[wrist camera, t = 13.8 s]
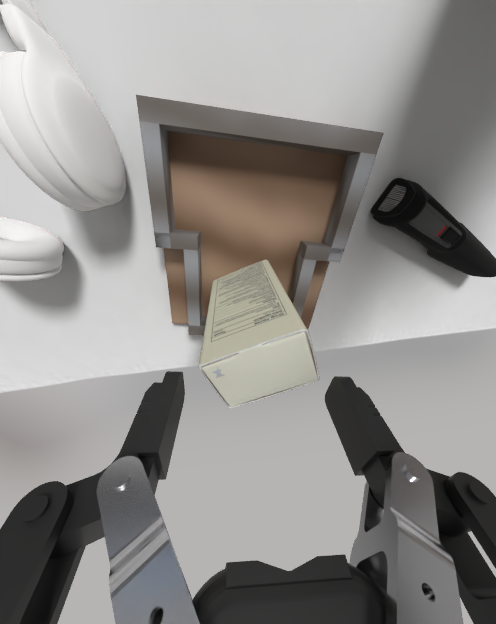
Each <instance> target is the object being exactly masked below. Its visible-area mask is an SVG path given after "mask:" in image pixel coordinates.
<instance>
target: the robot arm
mask: <svg viewBox="0 0 496 624" xmlns="http://www.w3.org/2000/svg"><path fill="white" fill-rule="evenodd" d="M184 391H185V390H184V380H183V372H166V374H165V377H164V379H163V382H162V383H153V384H152V386H151V387H150V388H149V389H148V390H147V391H146V392H145V395H144V397H143V400H142V402H141V405H140V407H139V409H138V411H137V414H136V416H135V418H134V421H133V423H132V425H131V428H130V430H129V432H128V435H127V437H126V440H125V442H124V444H123V447H122V449H121V451H120V453H119V455H118V456H117V458H116V459H115V460H114V461H113V462H112V464H111V465H109V466H108V467H107V468H106V469H104V470H103V471H102V472H100V473H98V474H96V475H94V476H91V477H88V478H85V479H83V480H80V481H77V482H75V483H72V484H69V485H66V486H65V485H64V484H63V483H61V482H58V481H53V482H48V483H45V484H42V485H40V486H38V487H37V488H35V489H33V490H32V491H31V492H29V493H28V494H27V495H26V496H25V497H23V498H22V499H21V500H20V502H19V503H18V504H17V505H16V506H15V507H14V509H13V510H12V512H11V513H10V515H9V516H8V518H7V520H6V521H5V523H4V524H3V526H2V527H1V529H0V624H57V622H58V620H59V617H60V614H61V611H62V609H63V606H64V604H65V601H66V598H67V595H68V592H69V590H70V587H71V584H72V582H73V579H74V576H75V574H76V571H77V568H78V565H79V563H80V560H81V557H82V554H83V552H84V549H85V546H86V545H88V544H90V543H92V542H94V541H96V540H98V539H101V538H103V537H105V540H106V546H107V550H108V556H109V561H110V574H109V586H110V594H111V600H112V606H113V612H114V617H115V622H116V624H463V618H462V612H461V604H460V598H461V599H462V602H463V603H464V606H465V608H466V609H467V611H468V613H469V615H470V617H471V619H472V621H473V623H474V624H496V577H495V576H494V574H493V573H492V571H491V570H490V568H489V566H488V565H487V563H486V562H485V560H484V558H483V557H482V555H481V554H480V552H479V550H478V549H477V547H476V546H475V544H474V542H473V541H472V539H471V538H470V536H469V535H468V533H467V532H470V531H472V532H473V534H474V535H475V537H476V539H477V540H478V542H479V543H480V545H481V546H482V548H483V549H484V551H485V552H486V554H487V556H488V557H489V559H490V560H491V562H492V564H493V565H494V567H495V568H496V497H495V496H494V494H493V493H492V492H491V491H490V490H489V489H488V488H487V487H486V486H485V485H484V484H483V483H481V482H480V481H479V480H477V479H476V478H474V477H472V476H471V475H469V474H466V473H462V472H458V473H456V474H454V475H453V476H451V477H449V476H446V475H443V474H440V473H437V472H434V471H431V470H428V469H426V468H425V467H424V466H423V465H422V464H421V463H420V462H419V461H418V460H417V459H416V458H414V457H413V456H411V455H409V454H406V453H405V452H404V451H403V449H402V448H401V447H400V445H399V443H398V442H397V440H396V439H395V437H394V436H393V434H392V432H391V431H390V429H389V427H388V426H387V424H386V423H385V421H384V419H383V418H382V416H380V413H379V412H378V410H377V408H375V405H374V404H373V402H372V401H371V399H370V397H369V396H368V395H367V394H366V393H365V392H364V391H363V390H362V389H361V388H359V387H358V388H357V387H356V385H355V384H354V382H353V380H352V379H351V378H350V377H334V378H333V379H332V382H331V384H330V386H329V388H328V390H327V392H326V394H325V403H326V406H327V409H328V411H329V413H330V416H331V418H332V421H333V423H334V426H335V428H336V430H337V433H338V435H339V437H340V440H341V443H342V445H343V447H344V450H345V452H346V455H347V457H348V460H349V462H350V464H351V467H352V469H353V472H354V474H355V476H356V475H365V478H366V480H367V482H366V484H365V490H364V497H363V505H362V512H361V520H360V527H359V532H358V535H357V538H356V539H355V542H354V544H353V548H352V552H351V557H350V563H347V559H346V556H345V555H333V556H317V557H316V558H314V559H312V560H310V561H308V562H306V563H305V564H303V565H301V566H299V567H297V568H296V569H294V570H292V571H286V570H283V569H280V568H277V567H274V566H271V565H268V564H265V563H263V562H260V561H244V562H229V563H226V568H225V569H224V570H222V571H220V572H218V573H217V574H215V575H214V576H213V577H211V578H210V579H209V580H208V581H207V582H206V583H205V584H204V585H203V586H202V588H201V589H200V590H199V591H198V592H197V594H196V595H195V597H194V598H193V600H192V598H191V595H190V592H189V589H188V586H187V584H186V581H185V578H184V576H183V573H182V570H181V567H180V564H179V562H178V559H177V556H176V553H175V551H174V548H173V545H172V543H171V540H170V537H169V534H168V531H167V529H166V526H165V523H164V521H163V518H162V515H161V512H160V509H159V507H158V504H157V501H156V498H155V496H154V495H155V491H156V487H157V483H158V480H160V479H166V476H167V472H168V467H169V463H170V459H171V454H172V450H173V446H174V441H175V437H176V433H177V428H178V424H179V419H180V416H181V411H182V407H183V402H184V395H185V392H184ZM459 596H460V597H459Z"/></svg>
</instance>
